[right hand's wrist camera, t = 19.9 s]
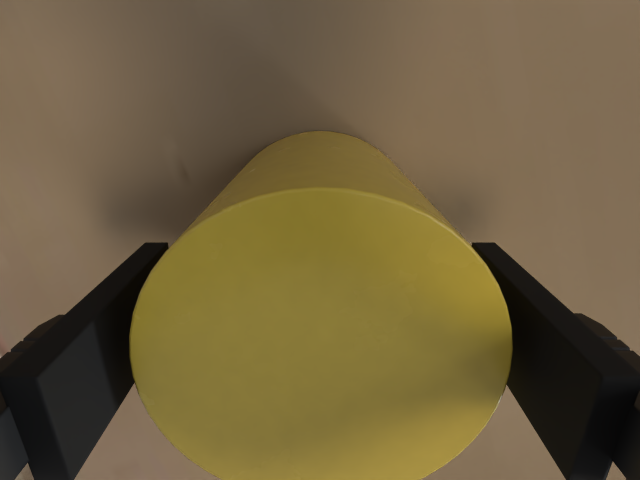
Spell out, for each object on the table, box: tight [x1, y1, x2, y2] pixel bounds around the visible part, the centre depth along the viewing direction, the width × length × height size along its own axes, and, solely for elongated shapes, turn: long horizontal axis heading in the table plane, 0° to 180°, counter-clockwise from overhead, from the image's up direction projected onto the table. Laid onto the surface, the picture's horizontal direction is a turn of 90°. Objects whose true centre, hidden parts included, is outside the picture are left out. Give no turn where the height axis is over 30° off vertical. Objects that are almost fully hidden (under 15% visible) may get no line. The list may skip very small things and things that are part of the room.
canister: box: [129, 131, 513, 480], centre depth 14 cm, size 9×9×10 cm
